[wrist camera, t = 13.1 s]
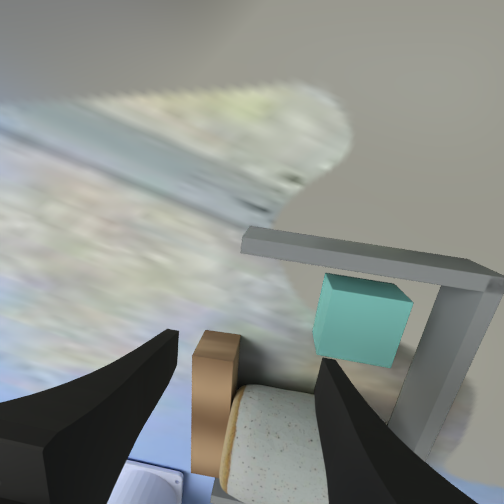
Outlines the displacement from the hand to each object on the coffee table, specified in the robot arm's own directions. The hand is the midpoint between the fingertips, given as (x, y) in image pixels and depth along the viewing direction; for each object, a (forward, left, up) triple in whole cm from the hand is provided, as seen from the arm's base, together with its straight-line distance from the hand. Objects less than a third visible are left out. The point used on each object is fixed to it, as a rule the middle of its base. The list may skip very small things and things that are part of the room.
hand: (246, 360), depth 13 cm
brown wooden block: (-10, +2, -8) cm, 13 cm away
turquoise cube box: (0, -7, -8) cm, 11 cm away
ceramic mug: (-12, -4, -8) cm, 15 cm away
